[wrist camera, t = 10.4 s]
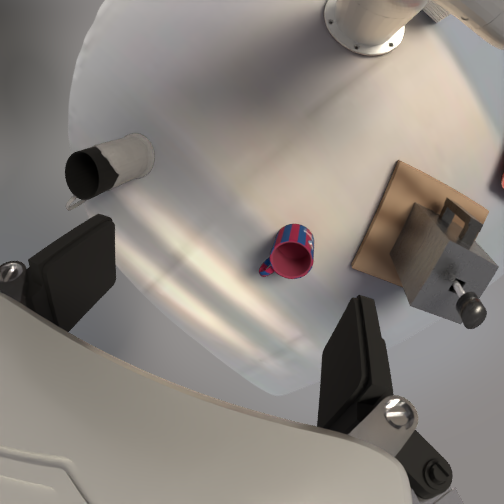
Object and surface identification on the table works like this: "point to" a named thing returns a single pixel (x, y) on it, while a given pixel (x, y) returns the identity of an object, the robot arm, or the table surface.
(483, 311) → the plunger
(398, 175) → the board
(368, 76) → the table surface
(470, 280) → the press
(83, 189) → the grey and black pitcher
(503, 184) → the plant saucer
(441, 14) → the white rectangular block
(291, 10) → the table surface
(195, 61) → the table surface
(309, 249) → the mug
